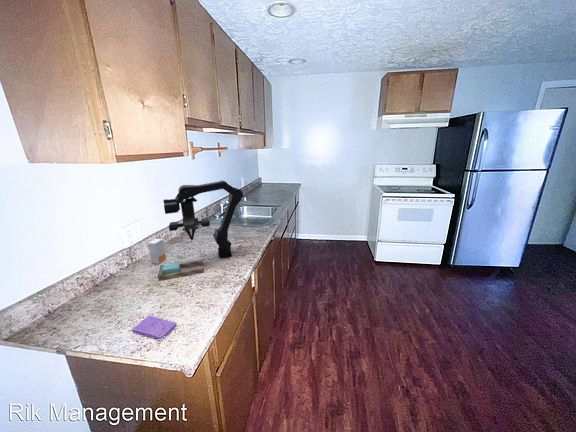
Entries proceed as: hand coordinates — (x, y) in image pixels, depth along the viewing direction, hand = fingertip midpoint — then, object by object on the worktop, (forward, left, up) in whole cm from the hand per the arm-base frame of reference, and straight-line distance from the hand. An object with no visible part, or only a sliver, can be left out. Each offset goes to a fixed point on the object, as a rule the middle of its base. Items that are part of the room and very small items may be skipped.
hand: (192, 239), depth 120 cm
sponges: (+13, +45, -14) cm, 49 cm away
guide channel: (+6, +8, -13) cm, 16 cm away
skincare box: (+18, -8, -13) cm, 24 cm away
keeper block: (+11, +8, -13) cm, 19 cm away
